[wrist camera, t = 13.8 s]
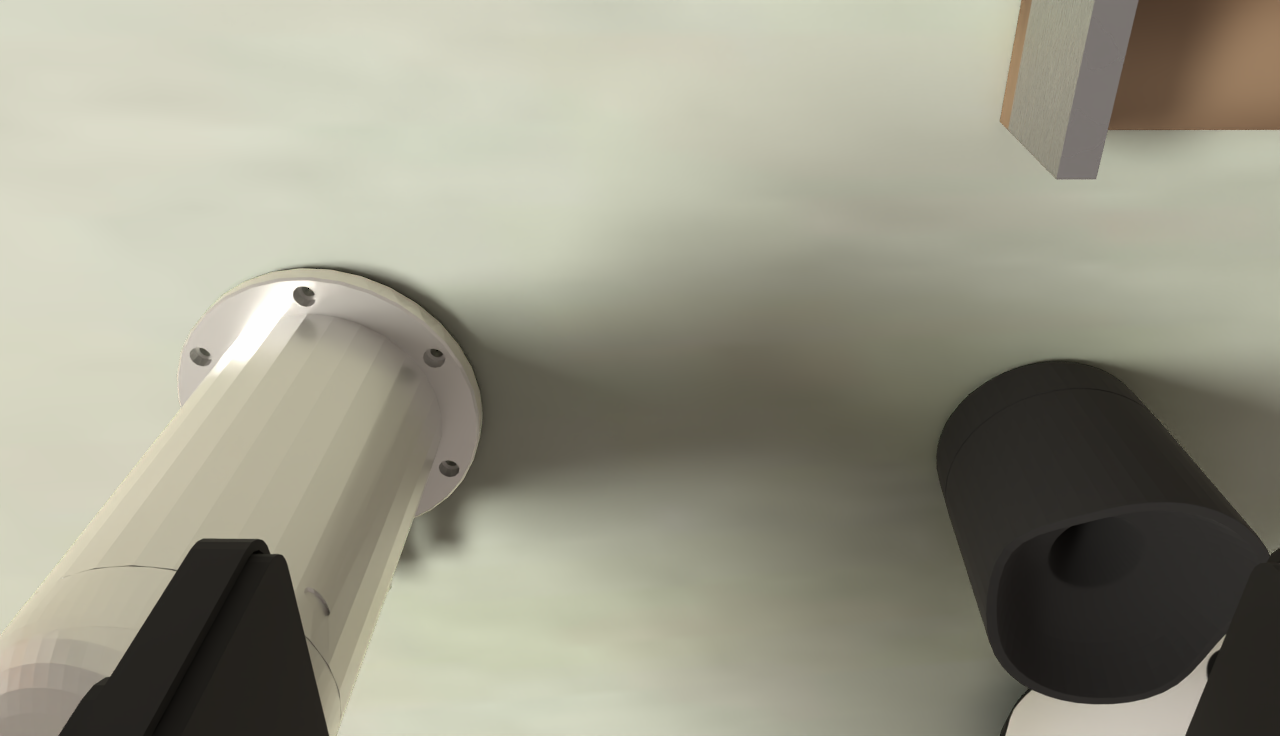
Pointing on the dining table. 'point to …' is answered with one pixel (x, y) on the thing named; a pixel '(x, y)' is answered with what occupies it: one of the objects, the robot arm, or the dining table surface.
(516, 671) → the dining table surface
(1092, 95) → the metal walls
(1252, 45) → the walnut board
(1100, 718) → the milk container
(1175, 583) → the pen holder
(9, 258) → the dining table surface
